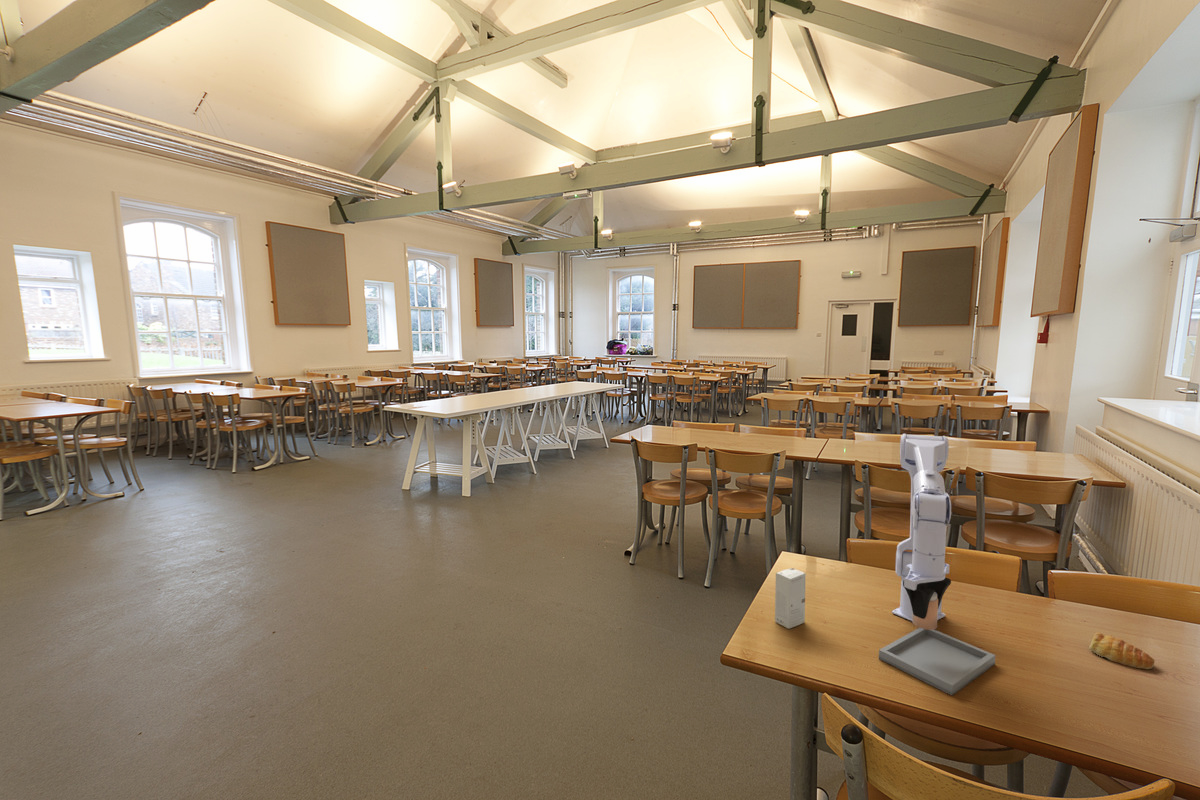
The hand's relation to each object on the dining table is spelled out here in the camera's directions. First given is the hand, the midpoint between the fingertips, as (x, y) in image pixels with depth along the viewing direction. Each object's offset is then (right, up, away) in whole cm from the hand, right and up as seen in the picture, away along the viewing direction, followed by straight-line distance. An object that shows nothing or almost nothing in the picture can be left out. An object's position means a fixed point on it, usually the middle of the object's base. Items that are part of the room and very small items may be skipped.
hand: (925, 613), depth 111 cm
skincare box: (-23, -8, +15) cm, 29 cm away
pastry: (+40, -10, 0) cm, 41 cm away
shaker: (0, -2, 0) cm, 3 cm away
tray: (+1, -10, -1) cm, 10 cm away
